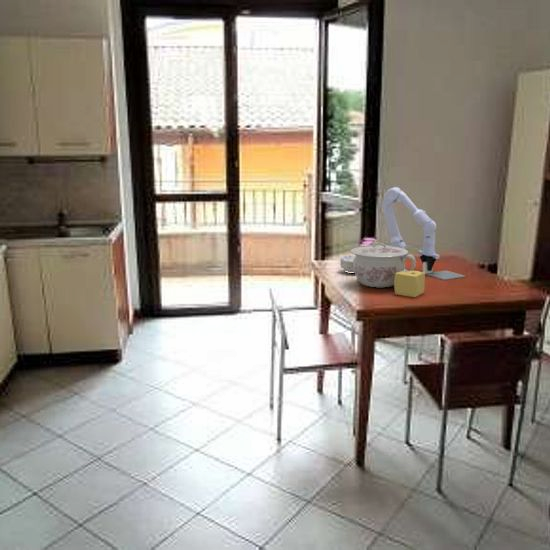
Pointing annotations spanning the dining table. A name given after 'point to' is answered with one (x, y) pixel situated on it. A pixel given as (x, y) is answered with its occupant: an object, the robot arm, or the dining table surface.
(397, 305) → the dining table surface
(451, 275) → the mat
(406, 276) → the cheese
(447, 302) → the dining table surface
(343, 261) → the paper bowls
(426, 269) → the block
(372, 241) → the gum box
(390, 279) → the chamber pot
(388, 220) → the robot arm
